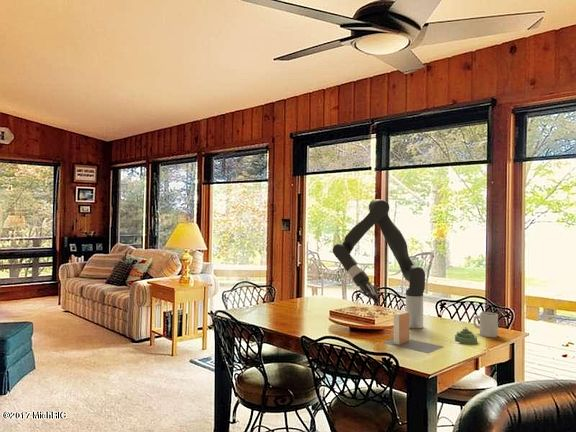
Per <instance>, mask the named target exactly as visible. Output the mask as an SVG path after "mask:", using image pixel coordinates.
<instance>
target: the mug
mask: <svg viewBox="0 0 576 432" xmlns="http://www.w3.org/2000/svg"><path fill="white" fill-rule="evenodd" d="M477 319H479V325H478V324H477V323H476V321H477ZM473 326H474V328H476V329H479V335H480V336H482V337H485V338H486V337H487V338H498V337H499V315H498V313H495V312H491V311H482V312H480V313H479V314H476V315H474V316H473ZM497 336H498V337H497Z"/></svg>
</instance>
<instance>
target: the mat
mask: <svg viewBox="0 0 576 432" xmlns="http://www.w3.org/2000/svg"><path fill="white" fill-rule="evenodd" d="M382 344H384V345H385V344H386V345H390V346H395V347H397V348H398V347H399V348H403V349H407V350H412V351H415V352H416V351H417V352H420V353H424V354H430V353H433V352H435V351H438V350H440V349H442V348H445V346H444V345H439V344H435V343H431V342H430V343H429V342H425V341H420V340H415V339H411V338H409V341H407V342H405V343H402V344H394V338H392V339H388V340H386V341H383V342H382Z"/></svg>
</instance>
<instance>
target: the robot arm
mask: <svg viewBox="0 0 576 432" xmlns="http://www.w3.org/2000/svg"><path fill="white" fill-rule="evenodd" d="M368 211H369V212H368V213H367V214H366V216H365V217H364V218H363V219H362V220H361V221H359V222H358V223H356V224H355V225H354V226H353V227H352V228H351V229H350V230H349V231H348V233H347V234H346V235H345V237H344V241H343V242H342V243H336V244H335V245H334V246H333V248H332V253H333V255H334V256H335V258H336V259H337V260H338V261H339V262H340V264H341V265H342V266H343V268H344V270H345V271H346V273H348V276H349V278H351V280H352V282H353V283H354V284H355V286H356V287H357V288H359V289H358V292H359V293H361V294H362V295H363V296H365V297H367V298H370V299H371V300H372V301H373V302H374V303H375V305H376V304H379V303H380V301H381V300H380V298H379V297H378V296H377V295H378V293H379V292H378V288H377V285H376V284H374V285H373V284H372V282H370V277H369V276H368V274H367V273H366V272H365V270H364V269H363V268H362V267H361V266H360V265H359V264H358V262H357V261H356V259H355V258H354V257H353V256H352V255H351V253H352V251H353V249H354V247H355V246H356V245H357V244H358V243H359V241H361V239H362V238H363V237H364V235H366V233H367V232H368V231H369V230H370V229H371V228H373V226H374V225H376V224H377V225H378V227H379V229H380V231H381V233H382V235H383V237H384V239H385V241H386V243H387V245H388V247H389V249H390V251H391V252H392V254H393V256H394V258H395V260H396V261H397V264H398V265H399V268H400V270H401V273H402V276H403V278H404V279H405V280H406V281H407V282H409V286H408V288H406V290H405V311H407V312H409V329H423V328H424V292H425V291H426V289H425V287H426V273H425V269H423V268H422V267H421V266H417V265H415V264H414V263H413V261H412V260H411V258H410V256H409V250H408V249H409V248H408V244H407V240H406V239H405V237H404V235H403V234H402V232H401V231H400V229H399V228H398V227H397V225H395V224H394V222H393V221H392V219H391V218H390V216H389V214H388V213H389V211H390V205H389V203H388V202H387V201H386V200H385V199H379V198H377V199H372V200H371V201H369V205H368Z"/></svg>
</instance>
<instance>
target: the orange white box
mask: <svg viewBox="0 0 576 432" xmlns="http://www.w3.org/2000/svg"><path fill="white" fill-rule="evenodd" d="M393 339H394V344H402V343H405V342H407V341H409V339H410V328H409V312H407V311H406V310H402V311H398V312H396V313H393Z"/></svg>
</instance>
